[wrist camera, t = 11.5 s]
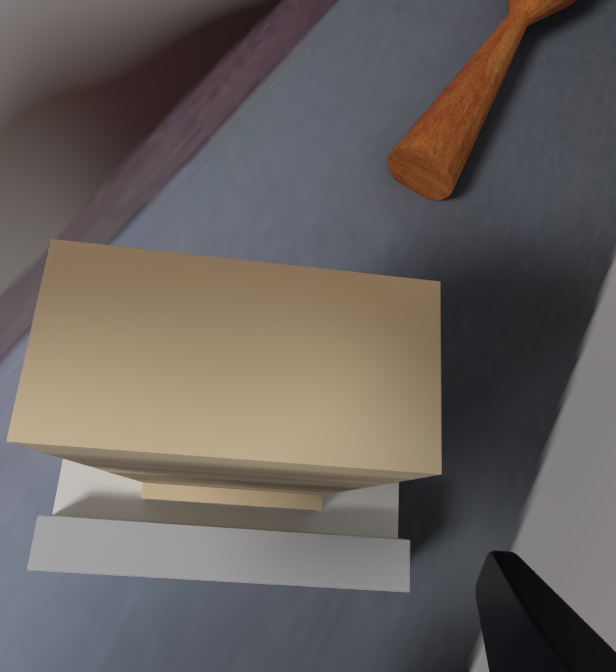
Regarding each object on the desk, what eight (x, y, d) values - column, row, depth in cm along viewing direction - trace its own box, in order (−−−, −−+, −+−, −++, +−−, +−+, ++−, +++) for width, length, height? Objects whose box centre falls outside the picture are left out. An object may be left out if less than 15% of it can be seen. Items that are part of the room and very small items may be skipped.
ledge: (383, 579, 22) (409, 592, 19) (60, 560, 21) (26, 570, 17) (388, 358, 24) (412, 335, 21) (102, 330, 23) (80, 301, 20)
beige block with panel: (316, 510, 20) (442, 510, 8) (146, 498, 20) (-3, 479, 7) (323, 400, 22) (440, 253, 9) (162, 386, 21) (57, 209, 9)
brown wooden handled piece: (363, 103, 24) (563, -187, 28) (361, 185, 29) (529, -68, 34) (495, 161, 22) (684, -155, 27) (467, 235, 28) (627, -36, 33)
